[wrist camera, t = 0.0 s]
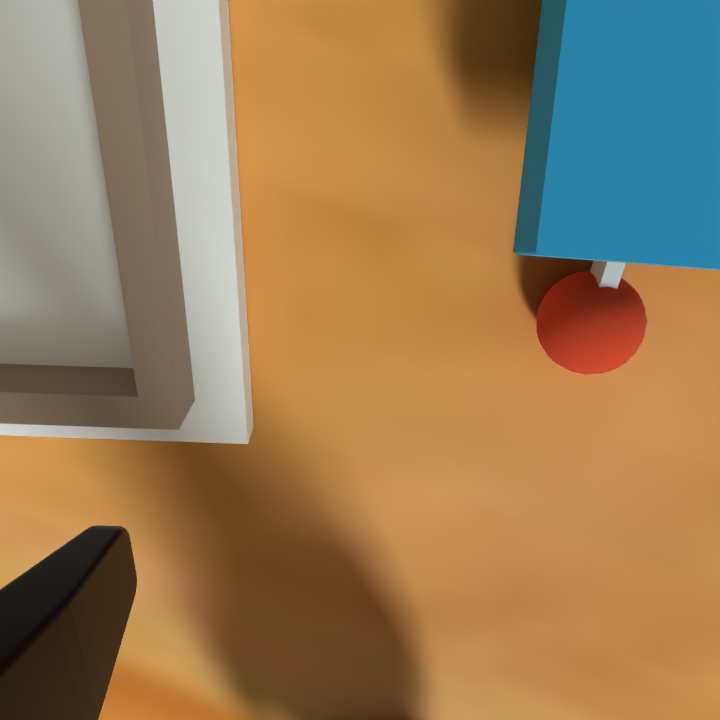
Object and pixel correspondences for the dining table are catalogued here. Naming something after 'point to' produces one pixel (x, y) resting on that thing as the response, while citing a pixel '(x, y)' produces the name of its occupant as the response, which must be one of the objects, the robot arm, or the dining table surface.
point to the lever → (619, 163)
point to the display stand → (121, 223)
